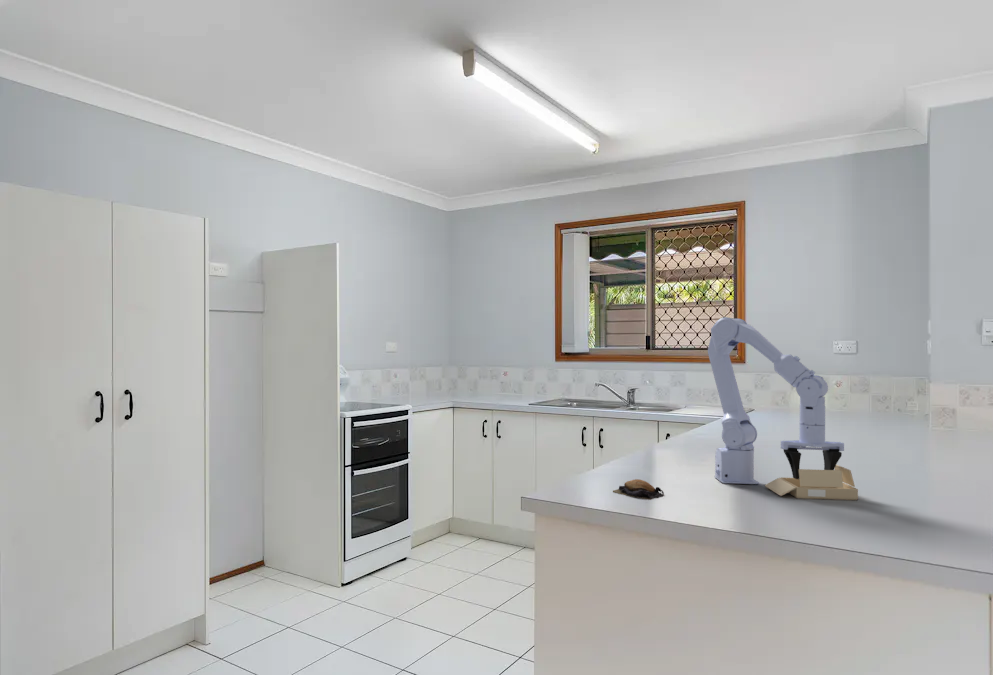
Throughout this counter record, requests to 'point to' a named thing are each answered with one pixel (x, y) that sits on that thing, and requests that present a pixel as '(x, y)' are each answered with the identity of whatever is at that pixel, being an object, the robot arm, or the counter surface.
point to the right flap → (846, 475)
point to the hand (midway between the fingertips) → (811, 478)
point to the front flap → (820, 478)
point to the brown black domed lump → (639, 490)
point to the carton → (811, 490)
